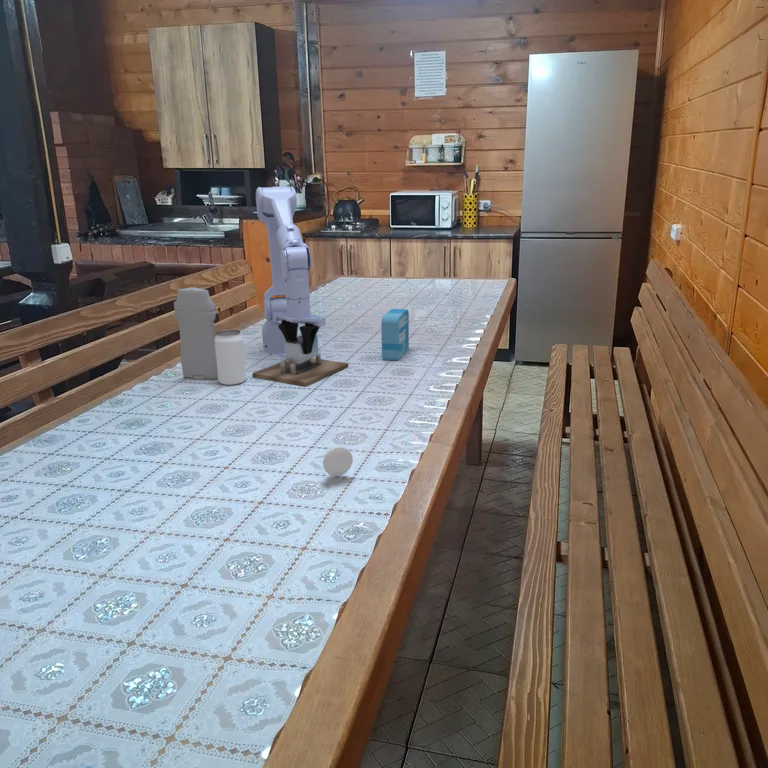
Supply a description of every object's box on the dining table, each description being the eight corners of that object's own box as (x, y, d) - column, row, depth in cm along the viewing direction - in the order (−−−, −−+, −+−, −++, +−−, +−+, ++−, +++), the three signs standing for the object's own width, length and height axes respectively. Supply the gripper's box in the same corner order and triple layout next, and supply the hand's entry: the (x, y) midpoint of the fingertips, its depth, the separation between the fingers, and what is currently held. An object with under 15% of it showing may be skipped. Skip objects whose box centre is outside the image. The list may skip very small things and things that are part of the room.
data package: (398, 363, 174) (398, 317, 170) (381, 362, 175) (381, 316, 171) (408, 351, 185) (408, 308, 181) (392, 350, 186) (392, 307, 182)
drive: (286, 362, 164) (284, 342, 162) (305, 353, 171) (304, 333, 169) (299, 364, 162) (297, 343, 160) (318, 355, 169) (317, 335, 167)
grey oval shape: (325, 479, 109) (323, 451, 108) (319, 472, 112) (318, 444, 110) (353, 474, 111) (353, 446, 109) (347, 467, 114) (346, 439, 112)
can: (251, 378, 162) (247, 330, 158) (237, 386, 156) (232, 336, 153) (227, 376, 164) (223, 328, 160) (213, 384, 158) (208, 334, 155)
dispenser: (177, 378, 163) (167, 288, 156) (185, 373, 167) (176, 285, 160) (218, 381, 161) (209, 289, 154) (225, 376, 165) (217, 286, 158)
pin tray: (252, 377, 163) (251, 363, 162) (297, 359, 178) (297, 346, 177) (305, 386, 156) (305, 372, 155) (348, 367, 170) (348, 353, 169)
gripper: (263, 297, 161) (267, 352, 165) (312, 302, 154) (315, 359, 158) (281, 293, 167) (284, 346, 171) (329, 297, 160) (331, 352, 164)
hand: (300, 352), depth 165 cm, fingers closed on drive, 4 cm apart
